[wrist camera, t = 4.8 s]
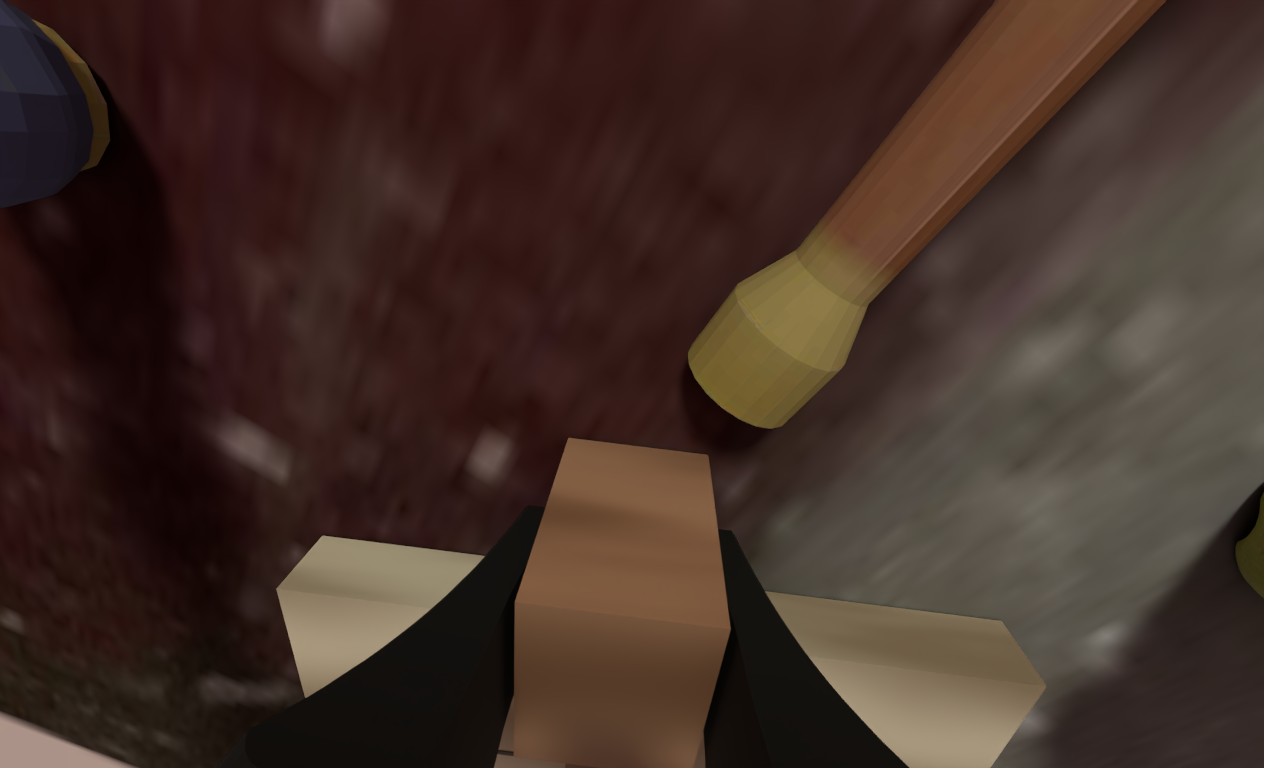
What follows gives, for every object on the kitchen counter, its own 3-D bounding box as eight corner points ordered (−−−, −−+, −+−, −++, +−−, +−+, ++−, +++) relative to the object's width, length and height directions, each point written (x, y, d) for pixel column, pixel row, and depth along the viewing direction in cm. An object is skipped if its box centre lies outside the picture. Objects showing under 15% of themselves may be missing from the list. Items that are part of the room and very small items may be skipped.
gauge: (653, 726, 18) (649, 930, 14) (552, 713, 18) (512, 912, 14) (708, 454, 13) (730, 629, 9) (568, 437, 13) (515, 602, 9)
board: (891, 807, 19) (914, 877, 18) (363, 739, 20) (331, 801, 18) (1001, 620, 15) (1047, 688, 13) (322, 535, 15) (275, 590, 13)
